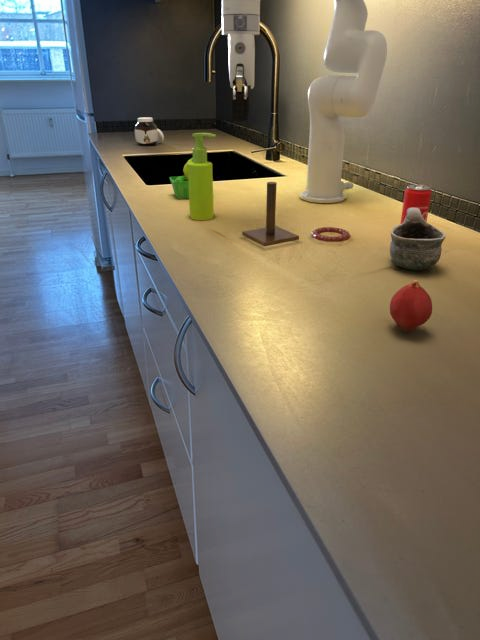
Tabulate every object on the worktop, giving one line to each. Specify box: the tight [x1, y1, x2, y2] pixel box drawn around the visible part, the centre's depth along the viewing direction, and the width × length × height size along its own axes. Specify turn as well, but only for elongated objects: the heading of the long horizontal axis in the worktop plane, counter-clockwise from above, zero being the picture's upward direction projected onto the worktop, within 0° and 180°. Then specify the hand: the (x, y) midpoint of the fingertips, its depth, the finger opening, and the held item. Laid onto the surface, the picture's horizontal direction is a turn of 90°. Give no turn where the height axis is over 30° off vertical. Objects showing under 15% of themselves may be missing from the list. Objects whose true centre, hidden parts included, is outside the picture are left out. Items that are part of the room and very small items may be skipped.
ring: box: [310, 226, 351, 243], centre depth 113 cm, size 8×8×2 cm
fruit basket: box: [169, 157, 193, 200], centre depth 145 cm, size 11×9×11 cm
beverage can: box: [399, 184, 432, 225], centre depth 108 cm, size 5×5×12 cm
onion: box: [389, 279, 433, 332], centre depth 73 cm, size 6×6×8 cm
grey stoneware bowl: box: [389, 208, 447, 271], centre depth 97 cm, size 10×12×10 cm
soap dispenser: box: [188, 132, 217, 221], centre depth 124 cm, size 6×7×20 cm
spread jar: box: [134, 116, 165, 147], centre depth 236 cm, size 12×11×12 cm
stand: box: [241, 181, 300, 247], centre depth 109 cm, size 9×9×12 cm
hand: (240, 118), depth 110 cm, fingers open, 9 cm apart
